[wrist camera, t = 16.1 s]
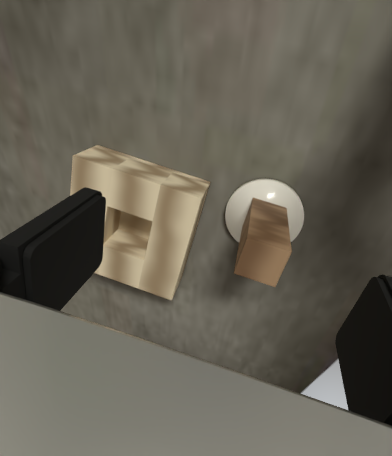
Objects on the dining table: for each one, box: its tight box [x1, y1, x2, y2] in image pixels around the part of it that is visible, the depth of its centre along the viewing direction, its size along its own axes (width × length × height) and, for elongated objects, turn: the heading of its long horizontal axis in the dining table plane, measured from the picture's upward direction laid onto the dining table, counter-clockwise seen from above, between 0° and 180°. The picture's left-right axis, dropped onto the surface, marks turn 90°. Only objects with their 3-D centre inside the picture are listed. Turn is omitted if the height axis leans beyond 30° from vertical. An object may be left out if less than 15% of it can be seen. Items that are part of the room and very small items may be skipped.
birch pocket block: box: [70, 145, 210, 300], centre depth 43 cm, size 16×16×6 cm
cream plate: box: [225, 178, 304, 242], centre depth 41 cm, size 10×10×1 cm
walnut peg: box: [234, 198, 292, 287], centre depth 36 cm, size 4×4×11 cm
